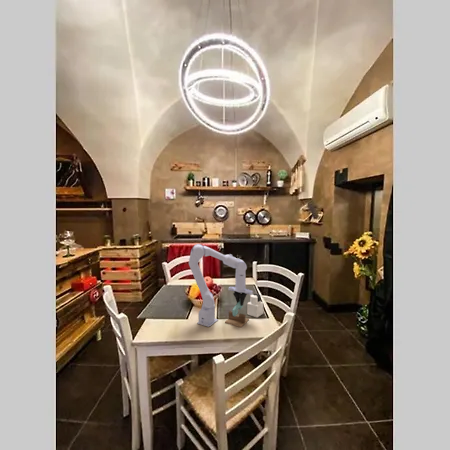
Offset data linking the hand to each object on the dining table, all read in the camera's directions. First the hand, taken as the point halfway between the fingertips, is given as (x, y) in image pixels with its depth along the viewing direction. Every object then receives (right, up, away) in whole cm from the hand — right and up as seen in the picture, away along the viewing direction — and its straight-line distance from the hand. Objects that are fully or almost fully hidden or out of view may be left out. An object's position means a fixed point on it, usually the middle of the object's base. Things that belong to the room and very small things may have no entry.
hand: (240, 304), depth 146 cm
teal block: (-1, -3, -2) cm, 4 cm away
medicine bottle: (+10, -8, +8) cm, 15 cm away
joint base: (-2, -9, -2) cm, 9 cm away
